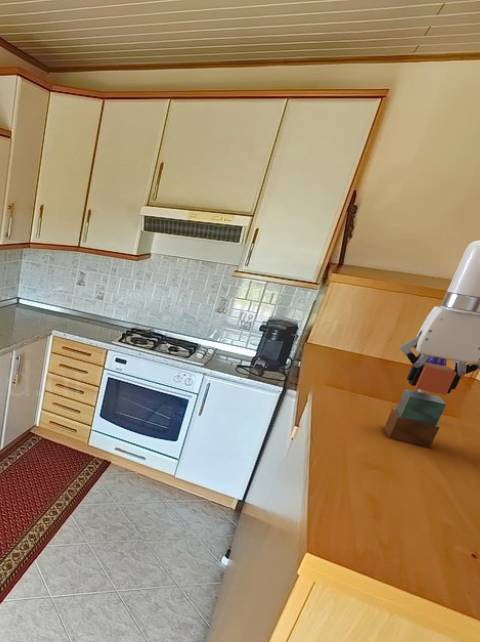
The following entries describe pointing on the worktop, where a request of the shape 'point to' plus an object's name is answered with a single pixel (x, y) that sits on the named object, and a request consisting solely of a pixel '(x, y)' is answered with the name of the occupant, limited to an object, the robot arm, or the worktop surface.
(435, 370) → the toy cube
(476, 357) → the robot arm
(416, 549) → the worktop surface
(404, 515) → the worktop surface
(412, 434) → the block stack
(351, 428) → the worktop surface
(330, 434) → the worktop surface
